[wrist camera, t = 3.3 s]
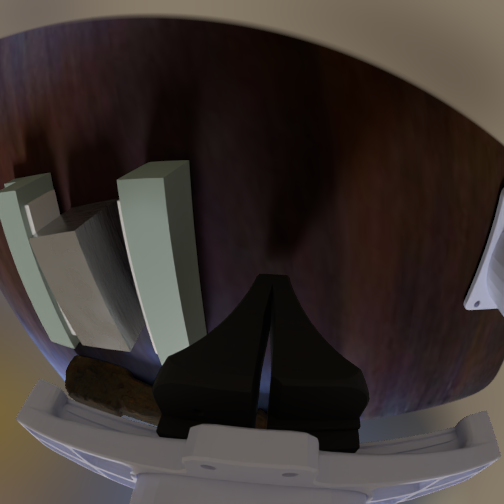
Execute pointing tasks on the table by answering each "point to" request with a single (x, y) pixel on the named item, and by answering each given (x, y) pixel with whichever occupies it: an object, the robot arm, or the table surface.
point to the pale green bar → (17, 233)
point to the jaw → (163, 252)
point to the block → (91, 275)
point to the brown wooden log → (117, 391)
